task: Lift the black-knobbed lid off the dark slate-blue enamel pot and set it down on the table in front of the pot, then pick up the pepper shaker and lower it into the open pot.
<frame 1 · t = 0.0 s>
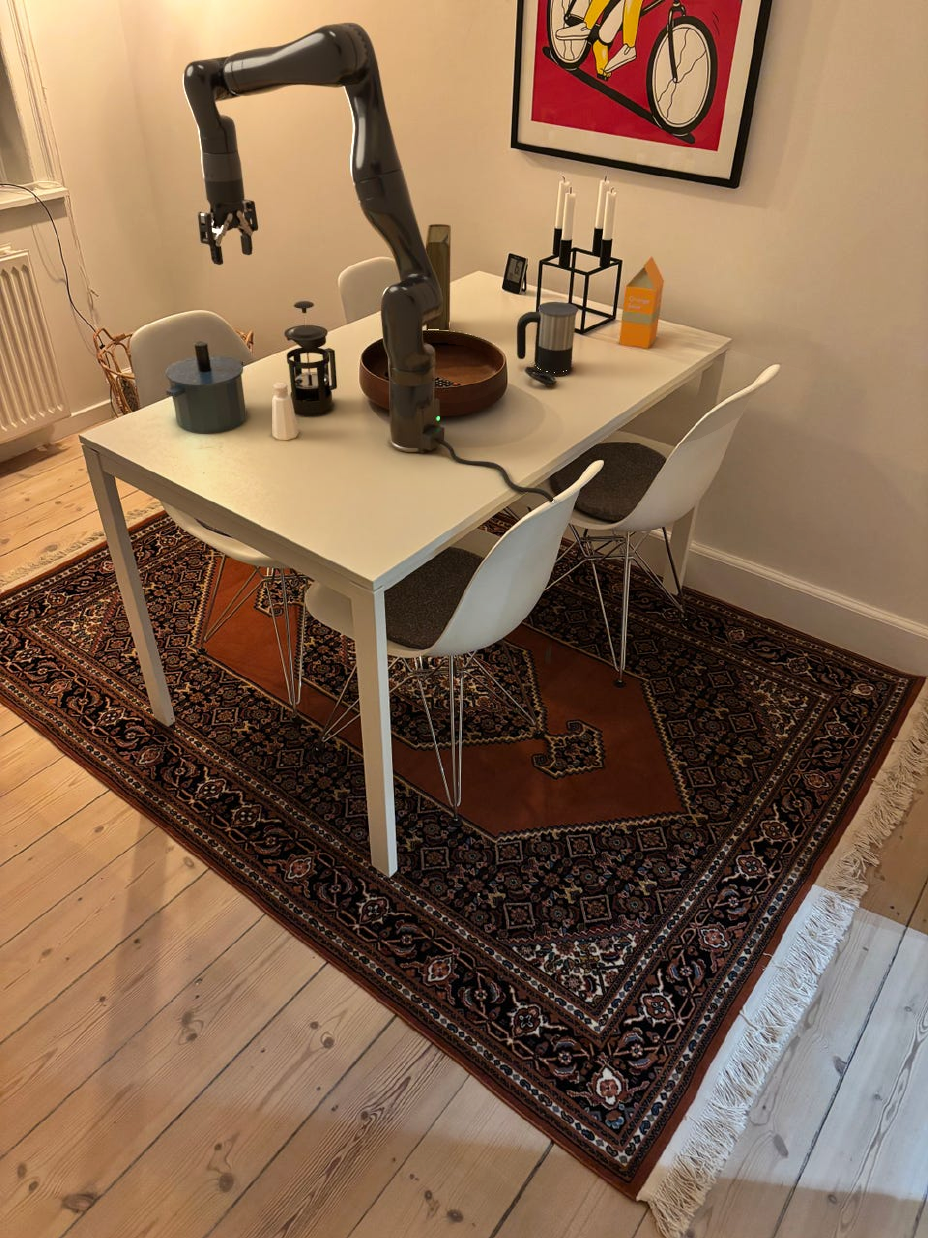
hand: (233, 259, 200), 29 cm above the table, tool pointing down, fingers open, 8 cm apart
pepper shaker: (285, 435, 201), on the table
orange juice: (637, 341, 247), on the table
milk frother: (548, 376, 228), on the table
pot: (212, 418, 207), on the table
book: (438, 334, 249), on the table
french press: (314, 407, 212), on the table
lid: (205, 372, 200), point 10 cm above the table, touching pot
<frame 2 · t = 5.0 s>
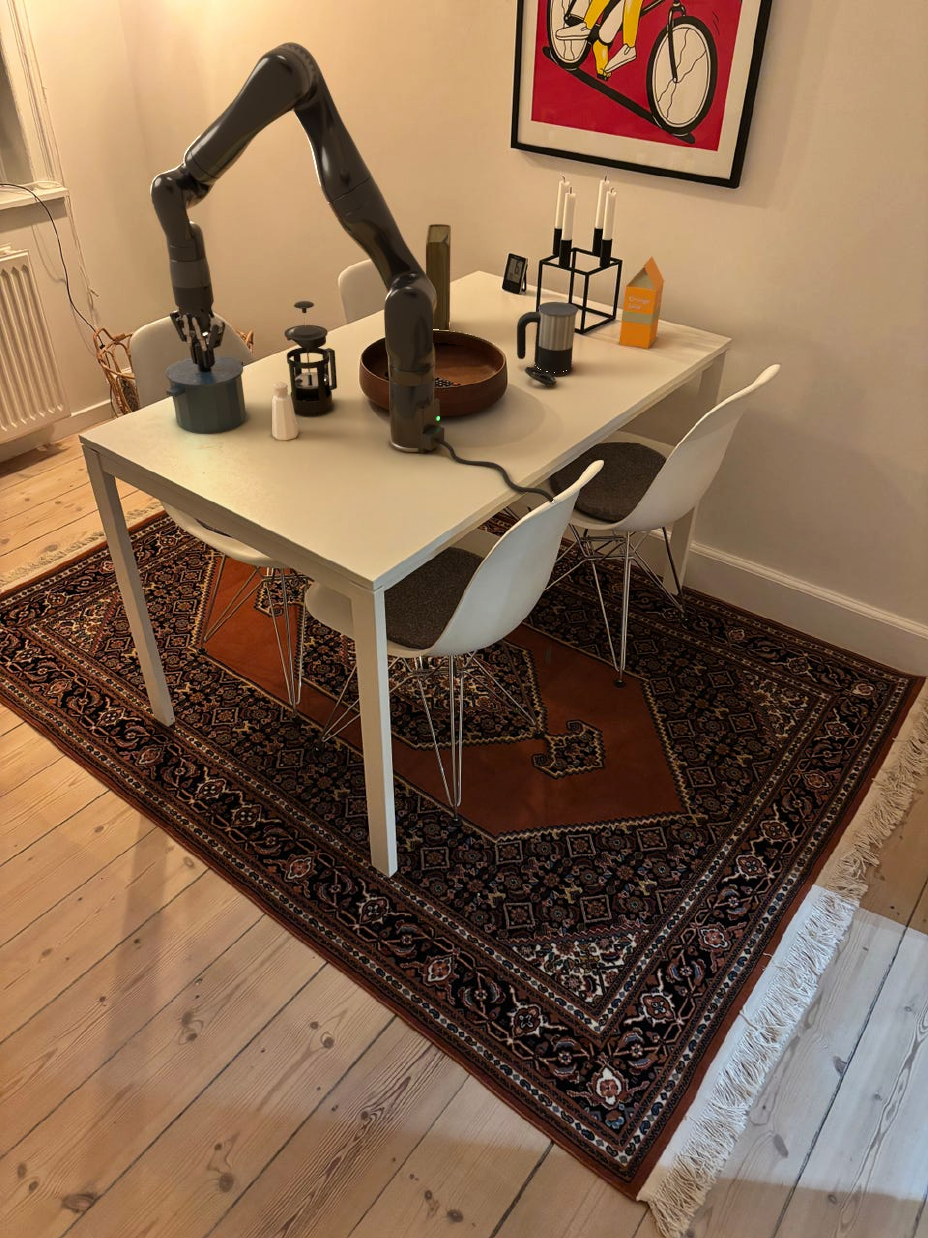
hand: (204, 364, 199), 12 cm above the table, tool pointing down, fingers closed on lid, 2 cm apart
lid: (205, 372, 200), point 10 cm above the table, touching gripper, pot
everything else where it was.
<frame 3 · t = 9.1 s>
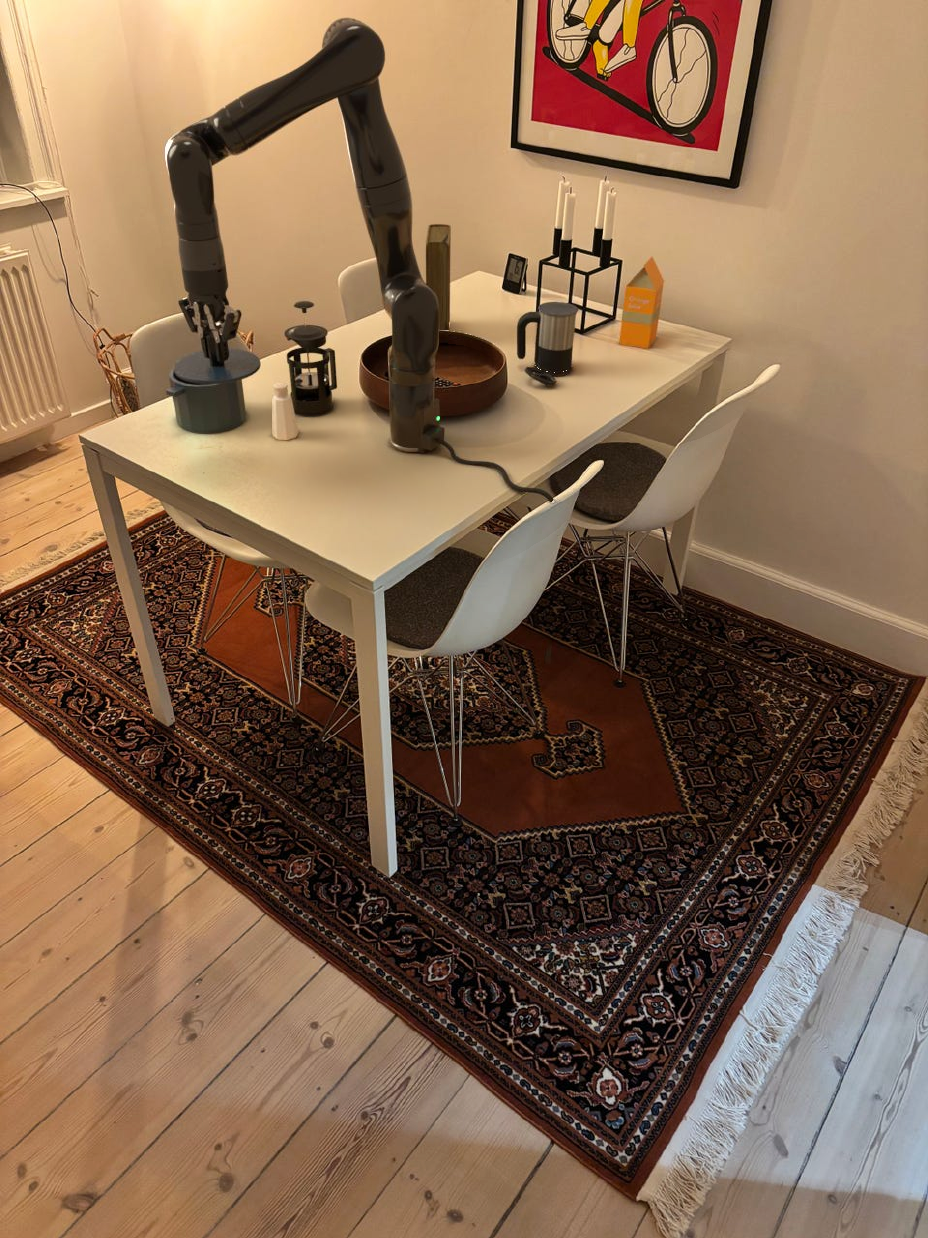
hand: (216, 358, 177), 22 cm above the table, tool pointing down, fingers closed on lid, 2 cm apart
lid: (217, 367, 178), point 20 cm above the table, touching gripper
everything else where it was.
when the fingers open (2 cm above the table, at t = 13.4 s): lid stays where it is, point 1 cm above the table.
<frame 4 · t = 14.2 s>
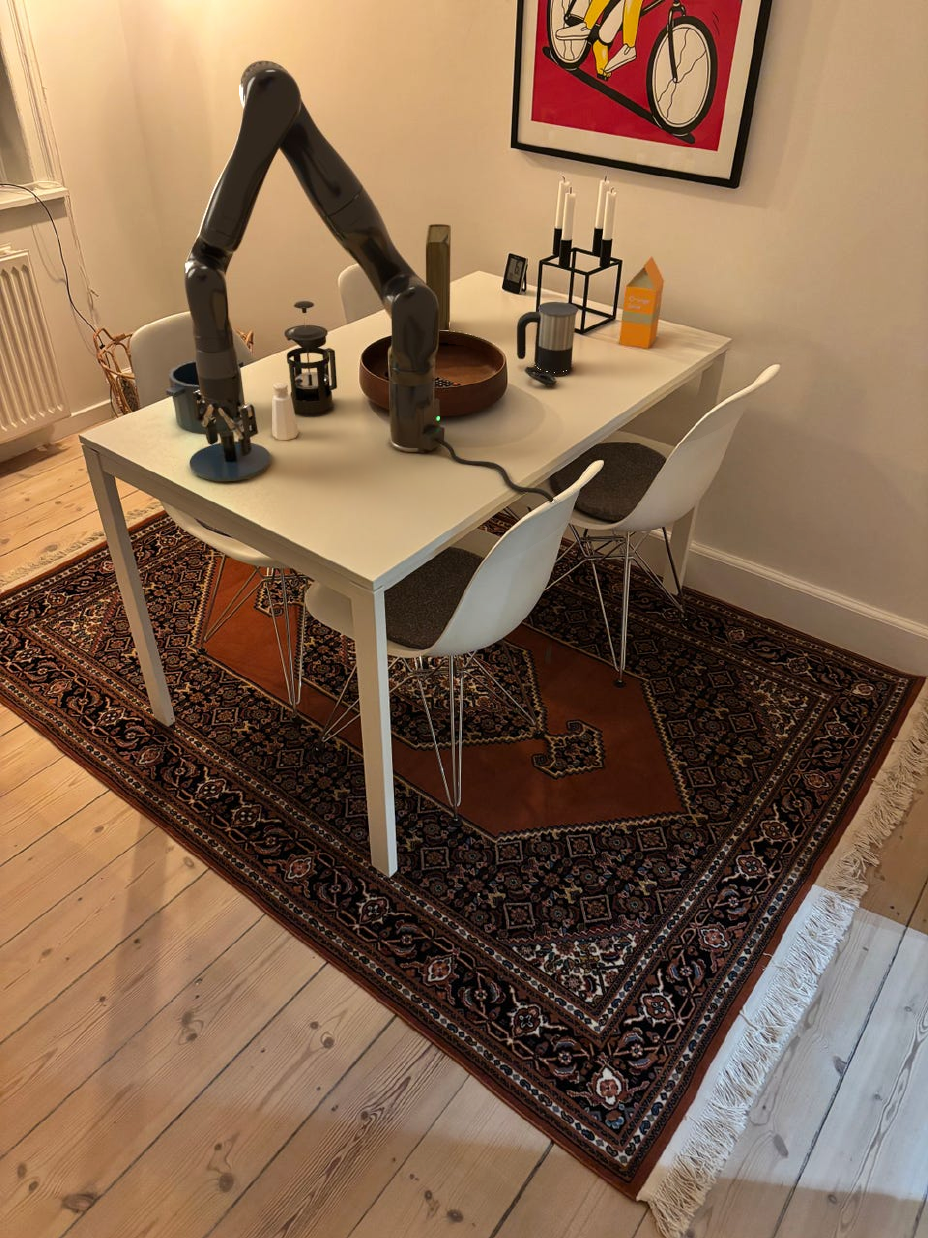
hand: (229, 448, 188), 3 cm above the table, tool pointing down, fingers open, 8 cm apart
lid: (230, 461, 190), point 1 cm above the table
everything else where it was.
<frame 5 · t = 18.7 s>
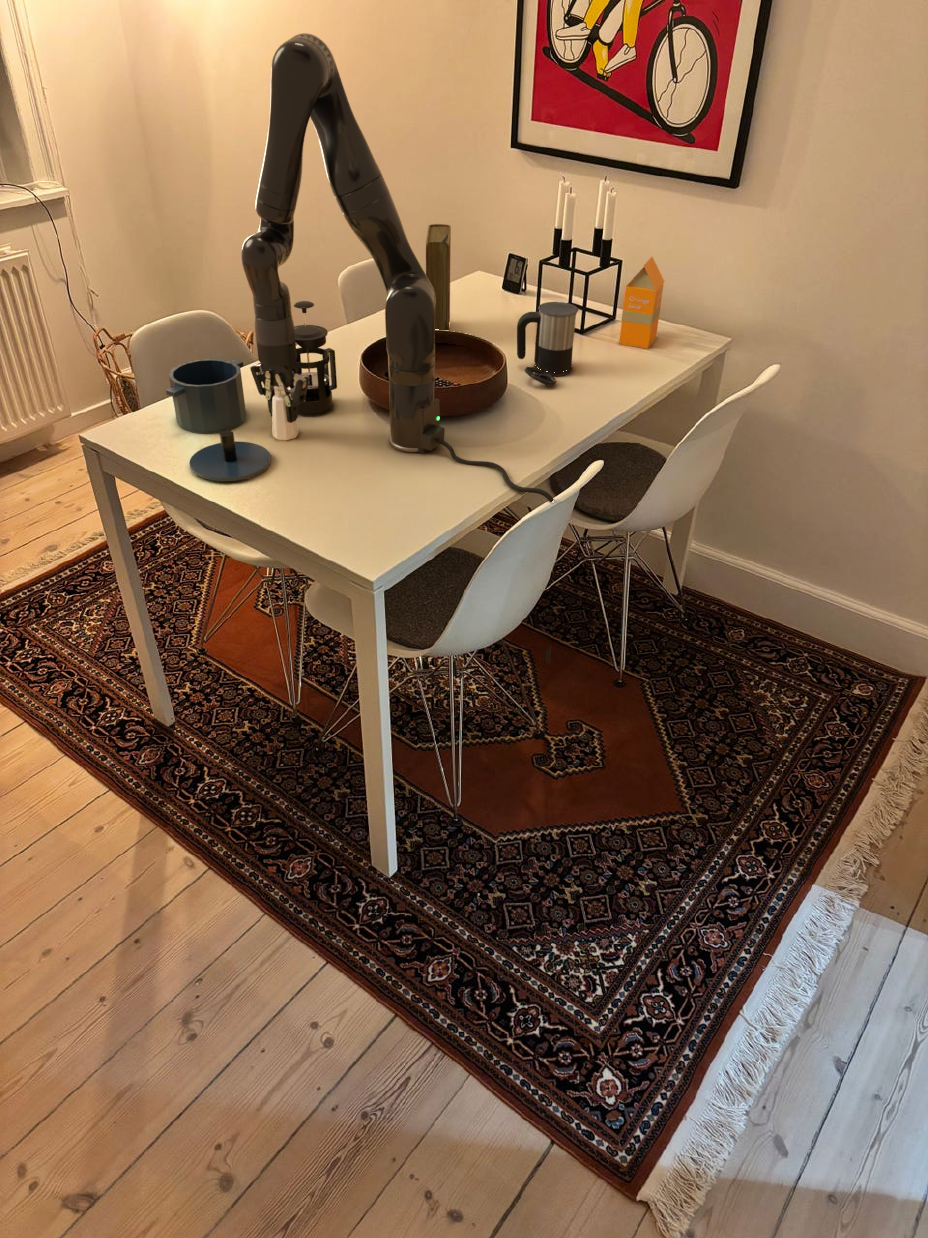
hand: (283, 418, 199), 4 cm above the table, tool pointing down, fingers closed on pepper shaker, 4 cm apart
pepper shaker: (285, 435, 201), on the table, touching gripper
everything else where it was.
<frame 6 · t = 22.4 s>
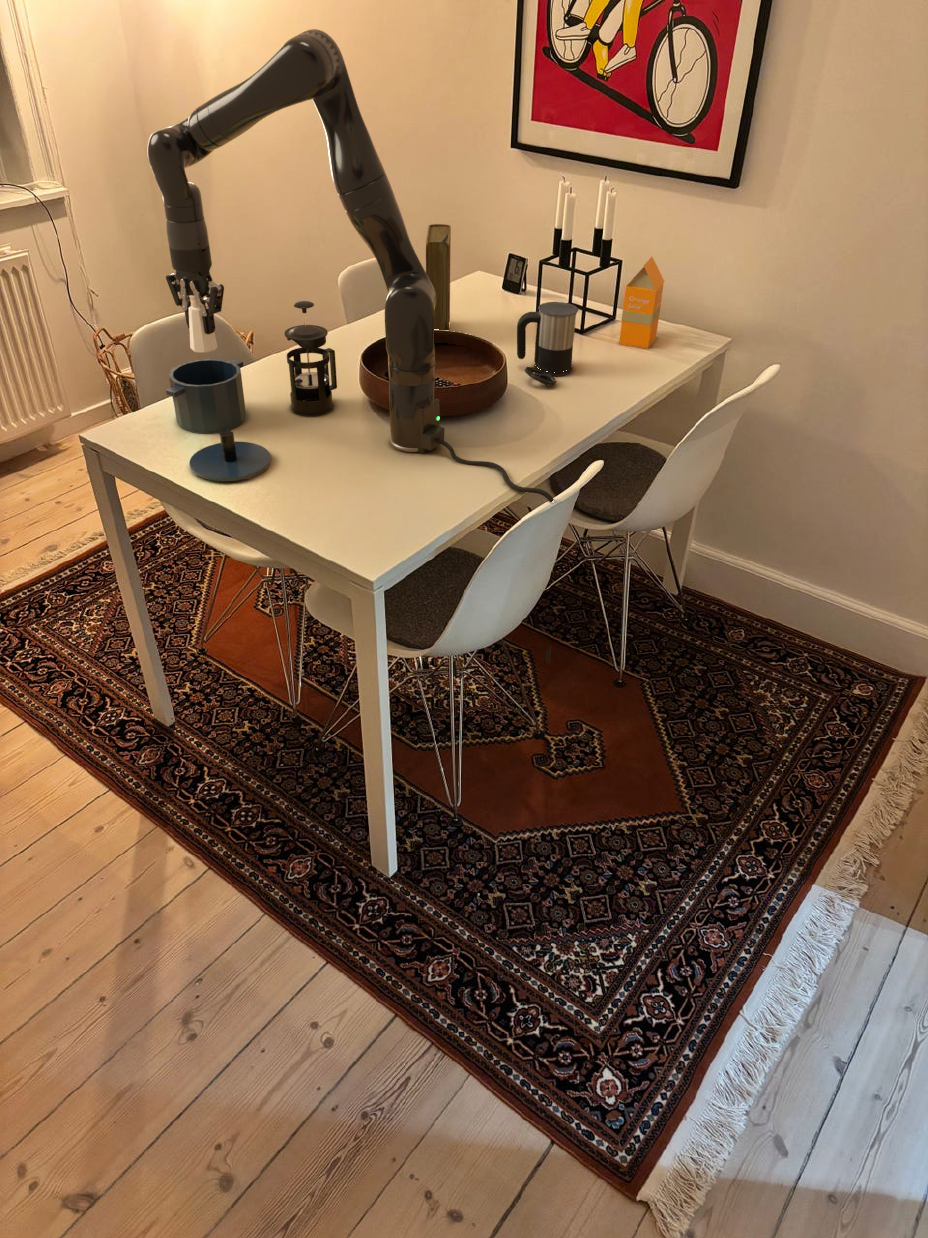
hand: (201, 330, 195), 19 cm above the table, tool pointing down, fingers closed on pepper shaker, 4 cm apart
pepper shaker: (204, 348, 197), point 16 cm above the table, touching gripper
everything else where it was.
when the fingers open (4 cm above the table, at t = 26.2 s): pepper shaker stays where it is, resting on pot.
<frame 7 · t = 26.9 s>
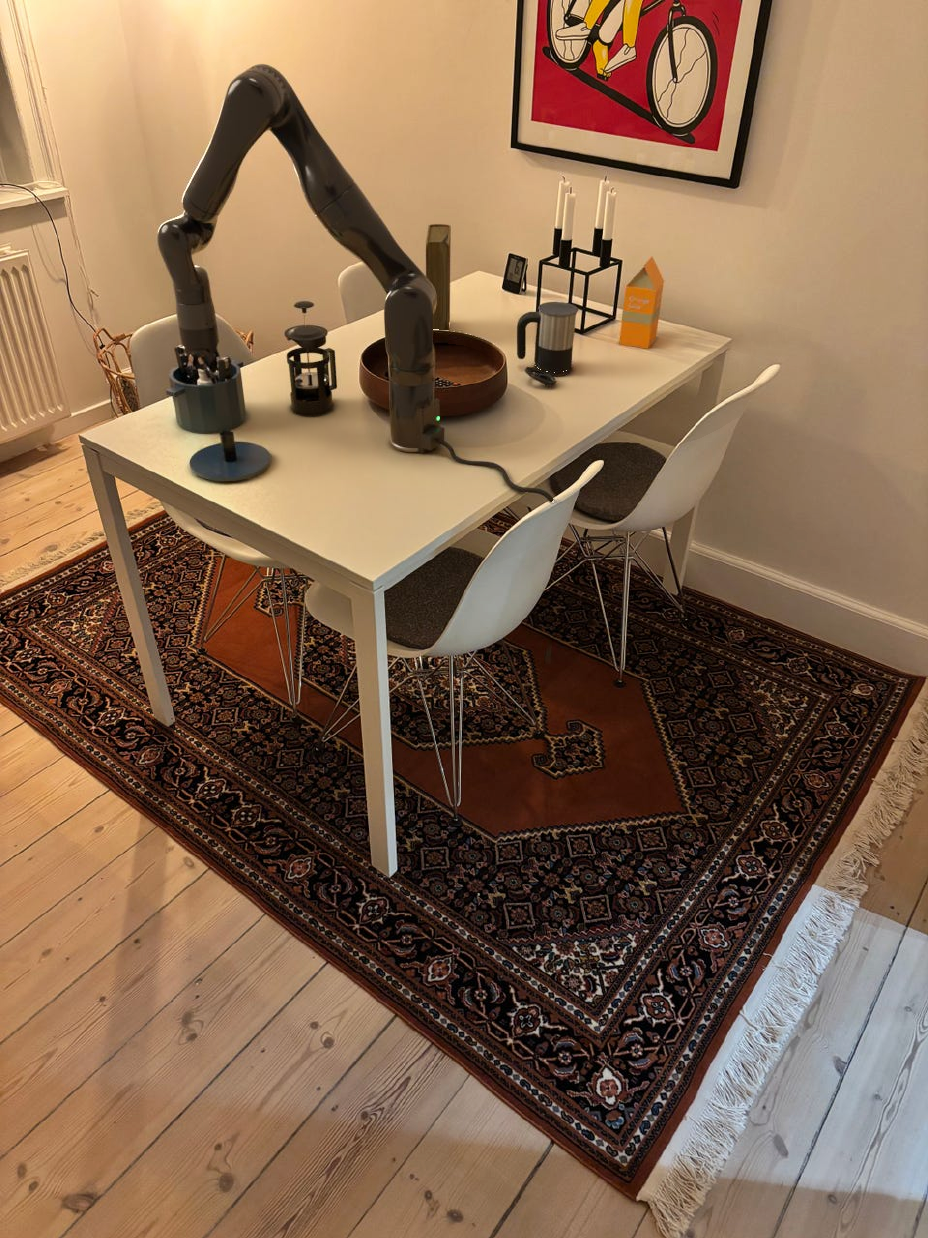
hand: (209, 399, 204), 4 cm above the table, tool pointing down, fingers open, 6 cm apart
pepper shaker: (212, 417, 206), resting on pot
everything else where it was.
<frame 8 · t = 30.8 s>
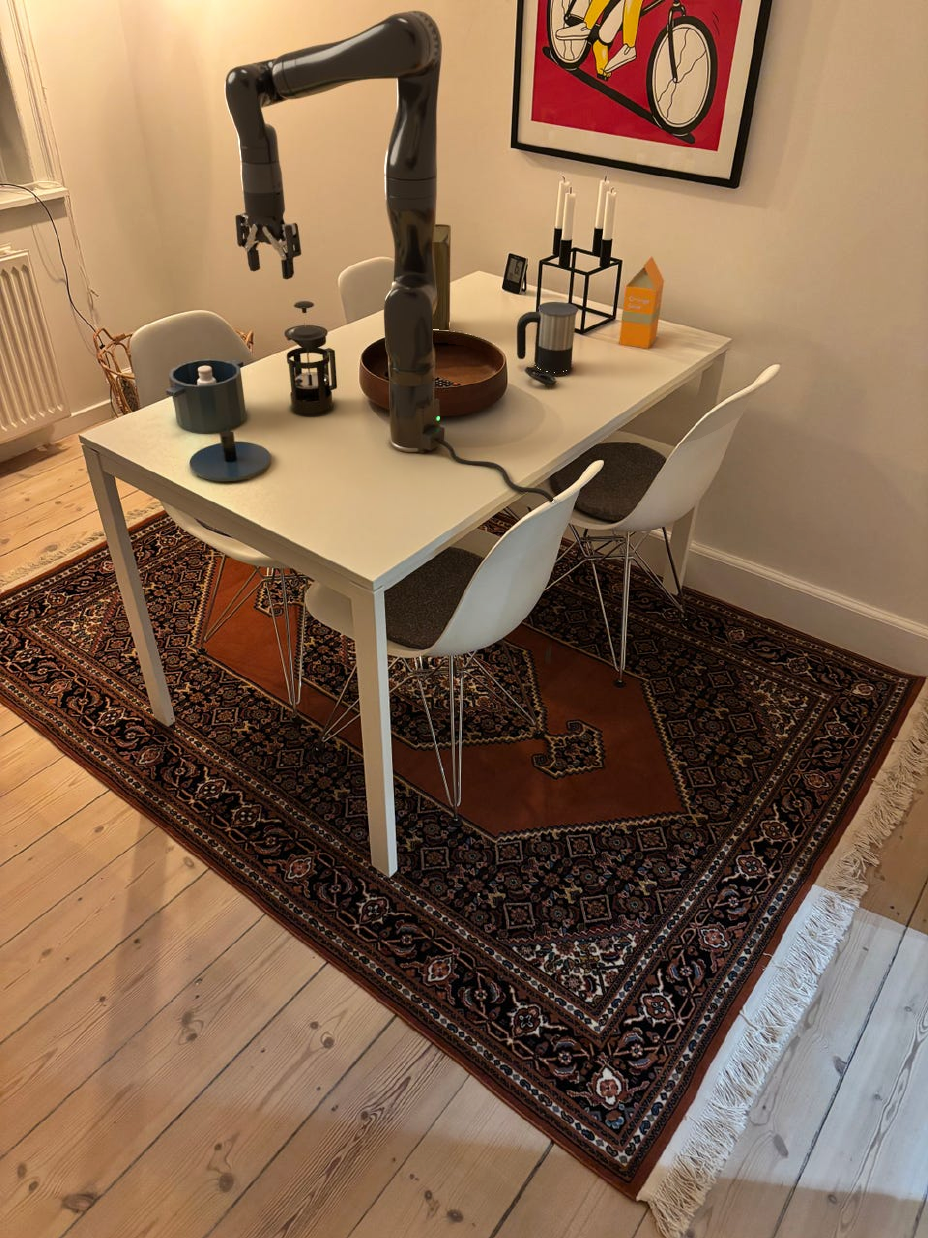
hand: (271, 274, 190), 30 cm above the table, tool pointing down, fingers open, 8 cm apart
nothing on the table moved.
at the end: lid inside the target area (0.1 cm from its centre), point 0.6 cm above the table; lid tilted 0°; pepper shaker inside the target area in the pot (0.1 cm from its centre), point 0.2 cm above the pot's base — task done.
